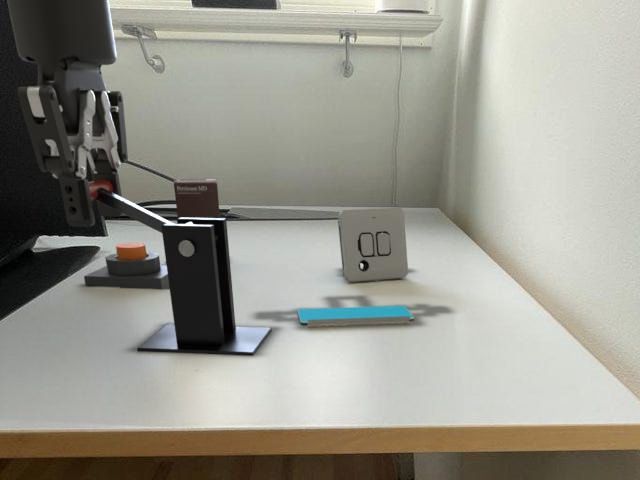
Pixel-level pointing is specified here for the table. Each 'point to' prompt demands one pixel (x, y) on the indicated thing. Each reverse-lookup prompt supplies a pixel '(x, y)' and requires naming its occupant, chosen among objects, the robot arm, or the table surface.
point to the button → (131, 251)
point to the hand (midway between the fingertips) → (97, 220)
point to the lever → (126, 205)
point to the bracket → (201, 293)
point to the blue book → (355, 316)
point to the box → (196, 198)
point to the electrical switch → (373, 244)
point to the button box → (130, 273)
